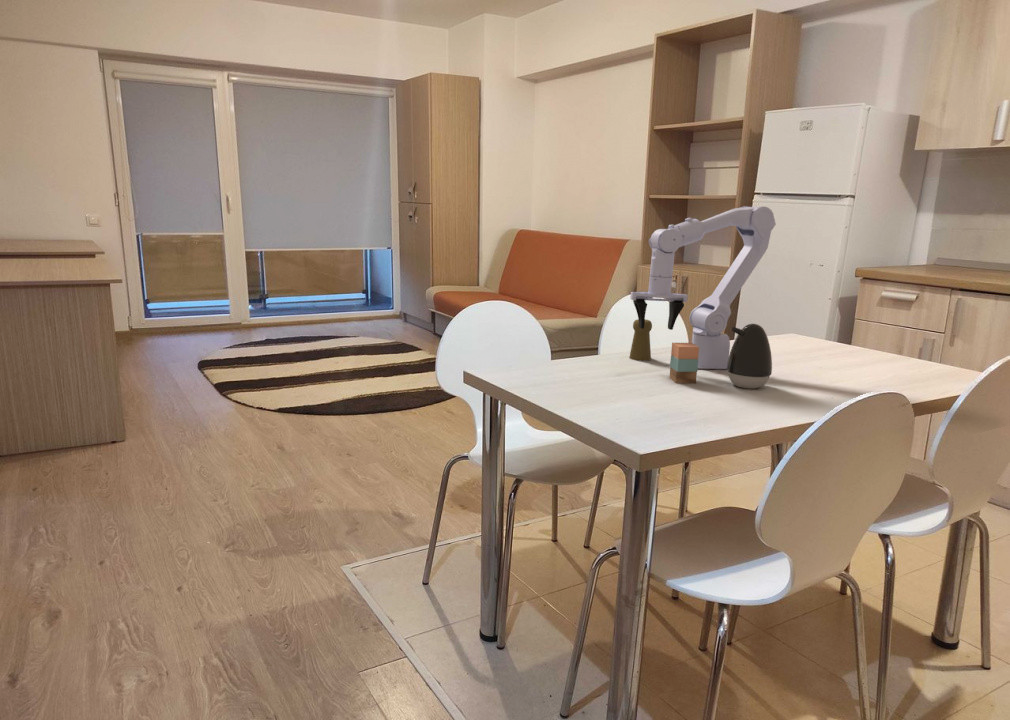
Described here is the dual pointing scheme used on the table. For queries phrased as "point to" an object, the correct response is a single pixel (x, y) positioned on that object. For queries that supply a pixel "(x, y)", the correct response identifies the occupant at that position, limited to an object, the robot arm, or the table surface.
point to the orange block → (685, 350)
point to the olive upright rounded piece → (641, 341)
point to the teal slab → (684, 364)
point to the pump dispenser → (750, 358)
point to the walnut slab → (682, 376)
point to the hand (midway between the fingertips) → (655, 328)
